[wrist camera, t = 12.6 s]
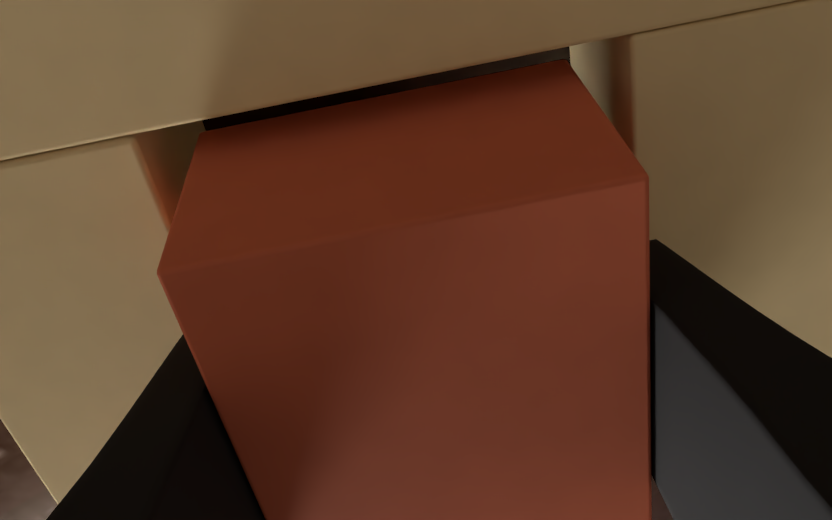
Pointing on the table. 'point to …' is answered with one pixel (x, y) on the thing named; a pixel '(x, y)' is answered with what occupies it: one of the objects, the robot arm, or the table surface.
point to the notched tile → (348, 70)
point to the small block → (425, 303)
